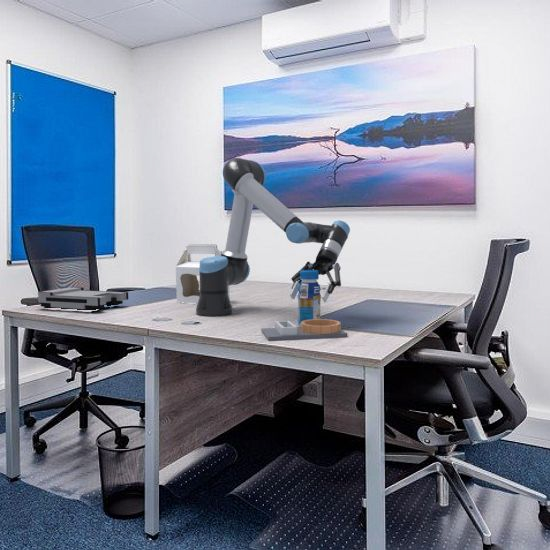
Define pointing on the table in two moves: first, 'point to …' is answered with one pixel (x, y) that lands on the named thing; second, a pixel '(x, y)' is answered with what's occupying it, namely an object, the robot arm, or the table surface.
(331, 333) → the socket board
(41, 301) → the office tray
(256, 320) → the table surface
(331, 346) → the table surface
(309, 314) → the beverage bottle
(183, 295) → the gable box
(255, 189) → the robot arm
